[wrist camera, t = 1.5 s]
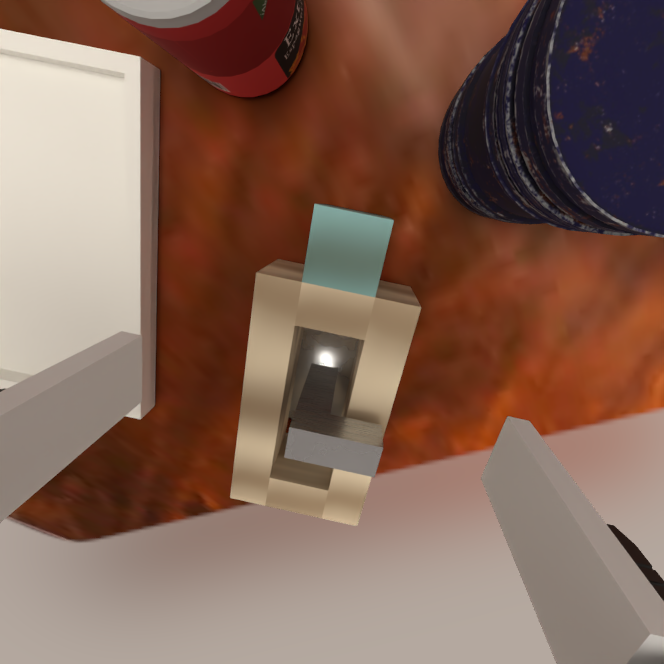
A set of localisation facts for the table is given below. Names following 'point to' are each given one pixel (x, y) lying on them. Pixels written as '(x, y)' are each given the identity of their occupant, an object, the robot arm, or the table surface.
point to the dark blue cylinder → (565, 120)
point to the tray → (76, 204)
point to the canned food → (226, 38)
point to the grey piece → (329, 409)
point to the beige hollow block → (284, 348)
